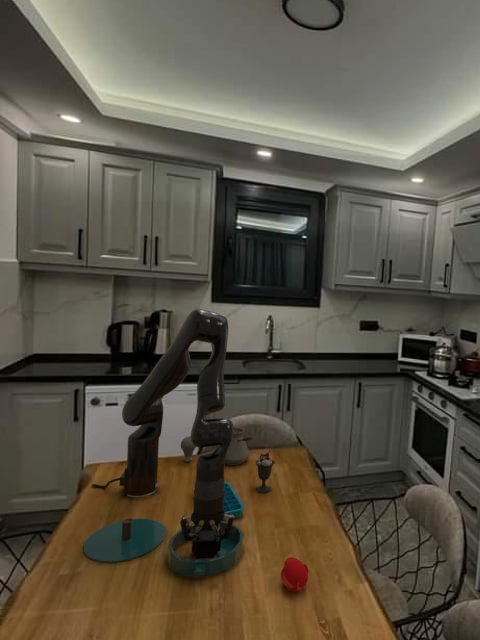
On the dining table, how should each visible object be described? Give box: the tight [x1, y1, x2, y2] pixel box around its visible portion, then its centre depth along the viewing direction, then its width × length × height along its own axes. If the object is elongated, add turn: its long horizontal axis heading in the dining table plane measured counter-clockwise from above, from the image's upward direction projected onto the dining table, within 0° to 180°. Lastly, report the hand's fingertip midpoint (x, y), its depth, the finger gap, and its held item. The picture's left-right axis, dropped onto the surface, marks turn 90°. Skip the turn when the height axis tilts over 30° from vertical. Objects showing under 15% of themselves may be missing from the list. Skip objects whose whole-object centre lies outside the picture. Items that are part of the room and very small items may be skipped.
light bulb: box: [180, 435, 197, 463], centre depth 171 cm, size 6×6×10 cm
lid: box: [83, 518, 167, 564], centre depth 119 cm, size 20×20×6 cm
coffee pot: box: [225, 427, 256, 466], centre depth 171 cm, size 21×12×15 cm, turn 39°
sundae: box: [255, 449, 276, 494], centre depth 154 cm, size 7×7×15 cm
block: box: [195, 531, 216, 560], centre depth 116 cm, size 4×4×5 cm
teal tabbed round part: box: [167, 520, 244, 578], centre depth 116 cm, size 19×24×4 cm
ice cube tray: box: [222, 481, 246, 521], centre depth 140 cm, size 12×20×3 cm, turn 34°
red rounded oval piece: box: [280, 556, 309, 593], centre depth 108 cm, size 8×6×6 cm
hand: (206, 552), depth 116 cm, fingers closed on block, 4 cm apart
